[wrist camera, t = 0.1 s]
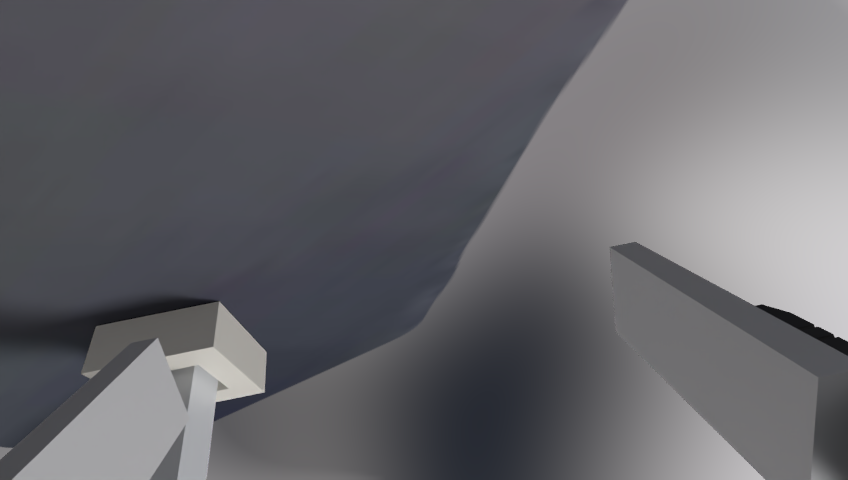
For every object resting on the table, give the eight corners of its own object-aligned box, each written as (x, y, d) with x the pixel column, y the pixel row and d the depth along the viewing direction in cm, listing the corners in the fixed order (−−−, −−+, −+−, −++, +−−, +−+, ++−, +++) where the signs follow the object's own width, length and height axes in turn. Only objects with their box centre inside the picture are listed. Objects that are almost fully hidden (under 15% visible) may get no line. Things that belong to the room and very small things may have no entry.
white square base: (95, 326, 36) (80, 373, 34) (219, 301, 37) (213, 346, 34) (165, 372, 44) (157, 414, 42) (266, 352, 44) (264, 392, 42)
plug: (148, 345, 38) (94, 584, 28) (200, 334, 38) (164, 569, 28) (176, 365, 41) (137, 585, 31) (224, 355, 42) (199, 572, 32)
